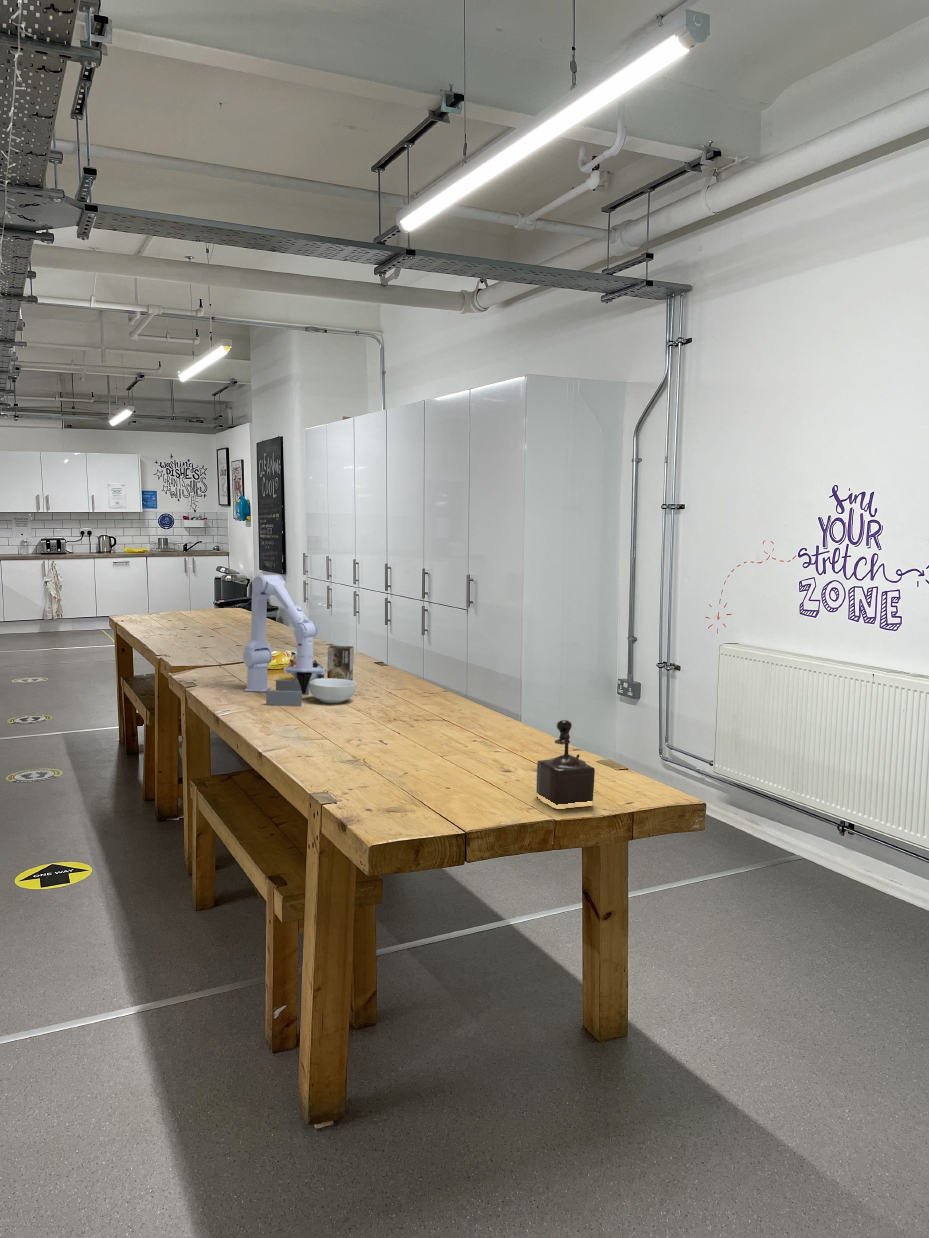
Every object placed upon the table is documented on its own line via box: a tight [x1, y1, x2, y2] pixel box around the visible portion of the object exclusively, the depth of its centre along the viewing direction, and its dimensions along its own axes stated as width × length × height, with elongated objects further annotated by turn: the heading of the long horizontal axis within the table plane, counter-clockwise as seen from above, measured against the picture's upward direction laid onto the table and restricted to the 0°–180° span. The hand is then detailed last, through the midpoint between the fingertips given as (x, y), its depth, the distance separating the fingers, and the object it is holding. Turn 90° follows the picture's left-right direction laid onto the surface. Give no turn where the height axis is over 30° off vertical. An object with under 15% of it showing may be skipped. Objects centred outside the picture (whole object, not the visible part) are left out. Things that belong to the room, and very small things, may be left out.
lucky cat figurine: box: [288, 651, 327, 682], centre depth 350 cm, size 15×12×14 cm
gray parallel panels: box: [265, 679, 310, 707], centre depth 315 cm, size 21×12×5 cm, turn 3°
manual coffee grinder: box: [536, 719, 596, 805], centre depth 212 cm, size 16×11×18 cm
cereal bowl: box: [309, 677, 357, 704], centre depth 315 cm, size 17×17×7 cm
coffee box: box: [326, 645, 355, 681], centre depth 341 cm, size 9×6×16 cm
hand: (303, 693), depth 315 cm, fingers closed
